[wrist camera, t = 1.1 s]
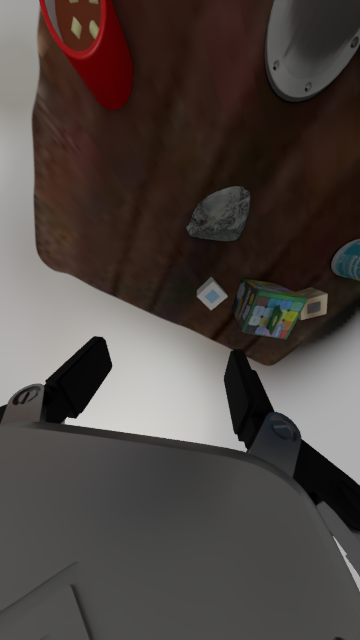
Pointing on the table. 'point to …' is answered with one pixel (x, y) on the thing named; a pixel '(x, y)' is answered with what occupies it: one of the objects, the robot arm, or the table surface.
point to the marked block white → (211, 293)
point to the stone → (221, 215)
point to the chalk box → (267, 308)
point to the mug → (93, 46)
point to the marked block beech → (313, 303)
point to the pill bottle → (347, 260)
